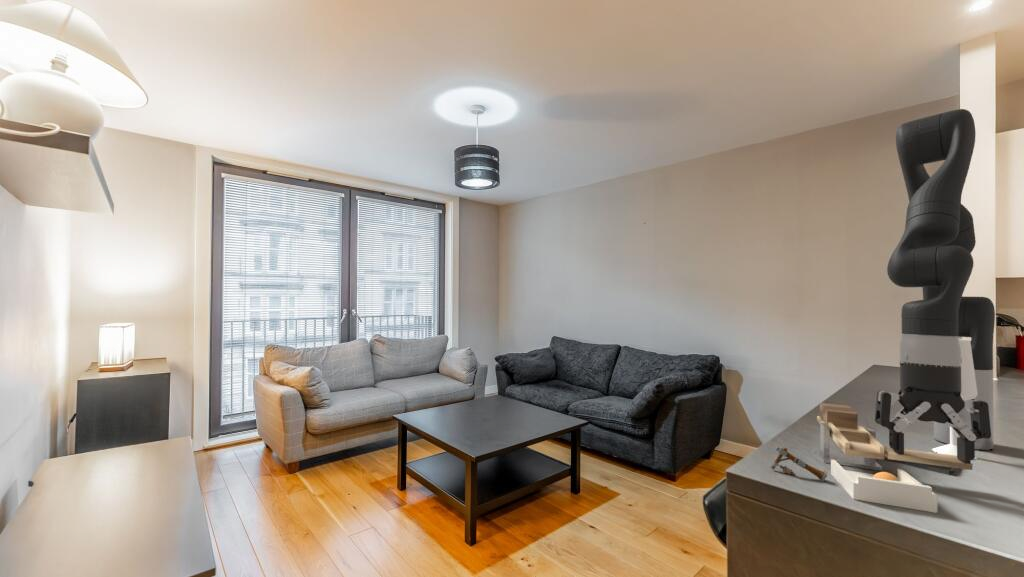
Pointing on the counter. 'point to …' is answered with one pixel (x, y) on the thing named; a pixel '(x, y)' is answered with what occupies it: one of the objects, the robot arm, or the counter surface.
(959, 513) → the counter surface
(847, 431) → the lever
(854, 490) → the tray
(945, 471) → the phone
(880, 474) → the ball
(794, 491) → the counter surface
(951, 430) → the champagne flute
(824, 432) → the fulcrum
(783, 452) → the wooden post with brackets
